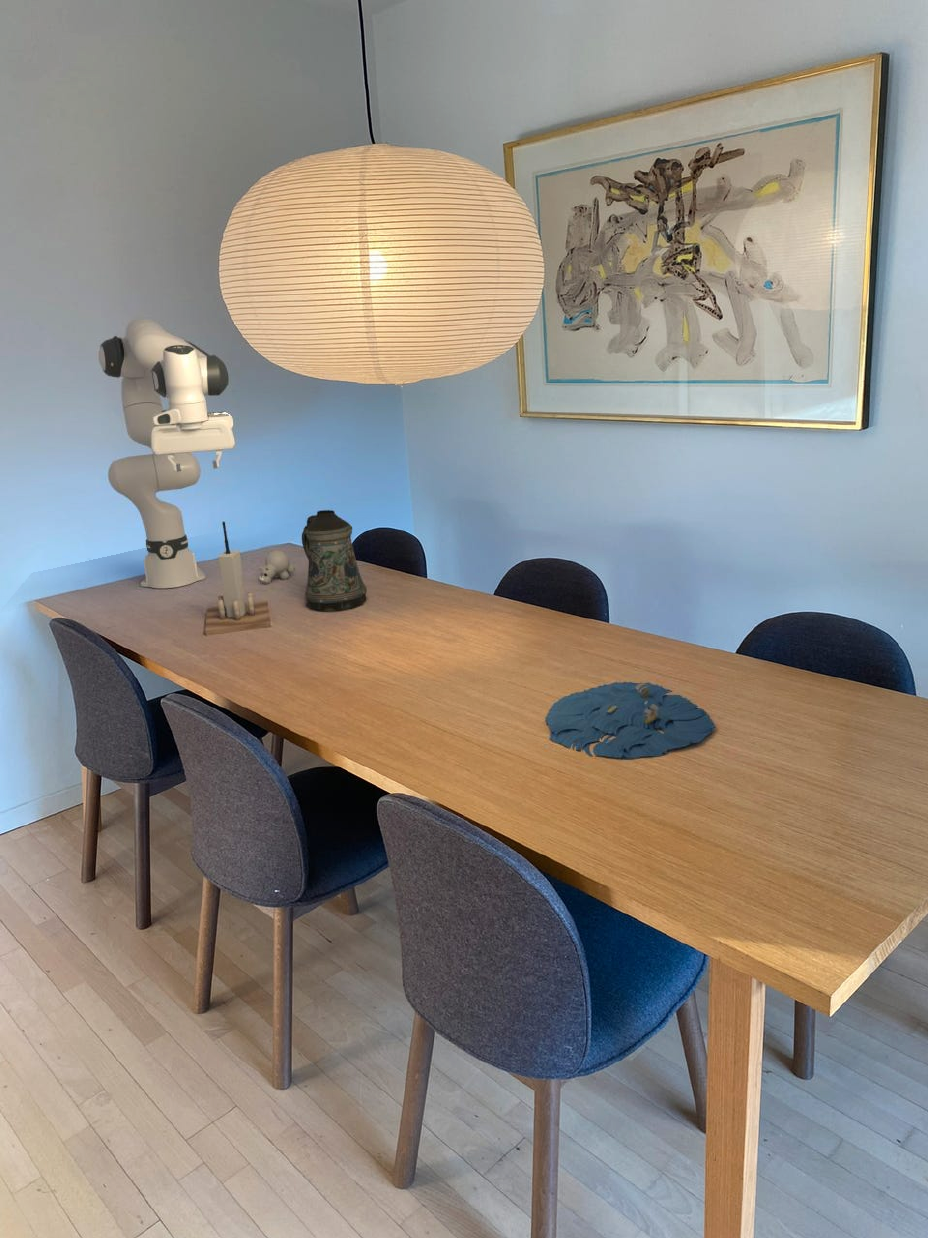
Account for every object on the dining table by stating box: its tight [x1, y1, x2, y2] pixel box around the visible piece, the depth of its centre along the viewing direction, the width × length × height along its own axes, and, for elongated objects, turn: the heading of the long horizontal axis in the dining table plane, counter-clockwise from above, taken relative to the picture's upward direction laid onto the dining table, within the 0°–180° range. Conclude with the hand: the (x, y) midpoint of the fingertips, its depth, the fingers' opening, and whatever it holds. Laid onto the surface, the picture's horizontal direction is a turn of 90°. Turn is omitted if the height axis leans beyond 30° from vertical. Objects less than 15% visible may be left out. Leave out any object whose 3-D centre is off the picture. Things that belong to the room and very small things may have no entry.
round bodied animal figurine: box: [258, 550, 296, 585], centre depth 266 cm, size 7×12×8 cm, turn 145°
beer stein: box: [301, 509, 368, 613], centre depth 238 cm, size 16×19×25 cm
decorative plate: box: [544, 681, 717, 760], centre depth 160 cm, size 30×30×5 cm
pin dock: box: [204, 591, 272, 636], centre depth 232 cm, size 20×16×6 cm
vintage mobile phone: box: [218, 521, 248, 618], centre depth 228 cm, size 4×5×25 cm
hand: (197, 469), depth 226 cm, fingers open, 8 cm apart
